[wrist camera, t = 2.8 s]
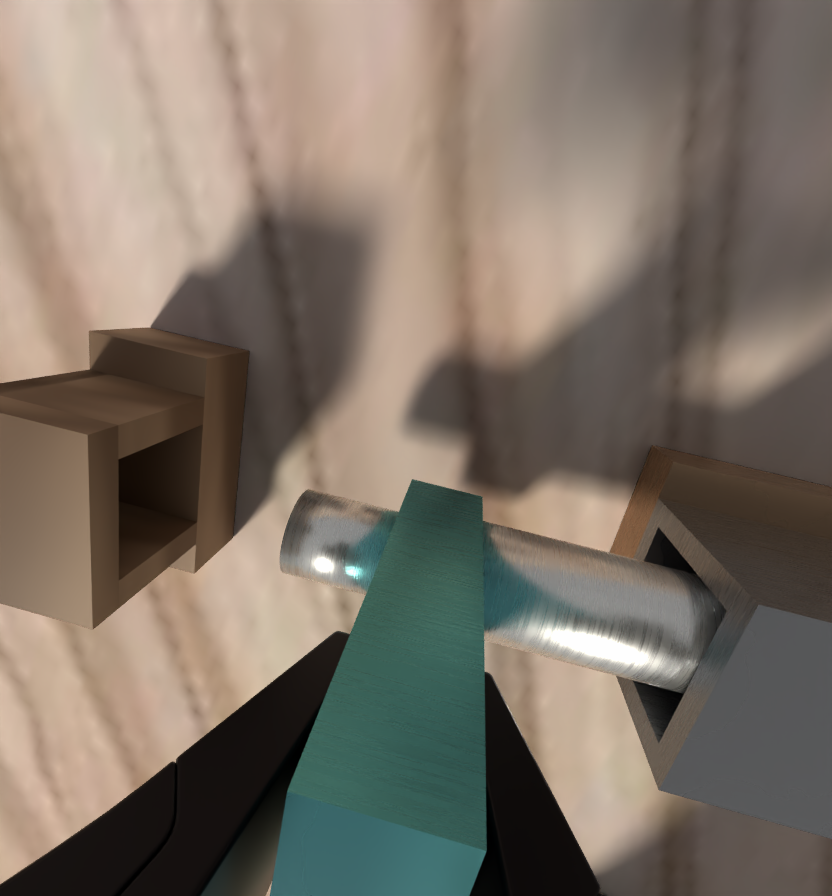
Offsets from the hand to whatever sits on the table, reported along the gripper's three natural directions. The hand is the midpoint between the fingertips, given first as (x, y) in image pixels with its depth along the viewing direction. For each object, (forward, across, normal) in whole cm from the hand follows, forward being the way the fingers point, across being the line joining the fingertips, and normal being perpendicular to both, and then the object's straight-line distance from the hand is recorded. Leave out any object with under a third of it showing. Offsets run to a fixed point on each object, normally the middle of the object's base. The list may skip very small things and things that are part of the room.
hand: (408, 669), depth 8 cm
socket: (+7, +9, 0) cm, 12 cm away
